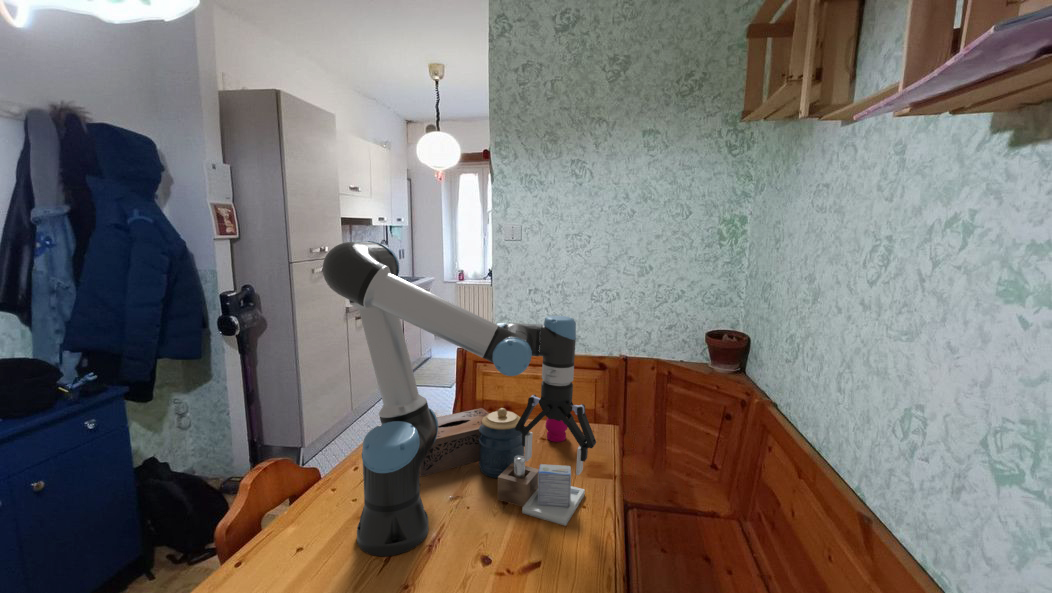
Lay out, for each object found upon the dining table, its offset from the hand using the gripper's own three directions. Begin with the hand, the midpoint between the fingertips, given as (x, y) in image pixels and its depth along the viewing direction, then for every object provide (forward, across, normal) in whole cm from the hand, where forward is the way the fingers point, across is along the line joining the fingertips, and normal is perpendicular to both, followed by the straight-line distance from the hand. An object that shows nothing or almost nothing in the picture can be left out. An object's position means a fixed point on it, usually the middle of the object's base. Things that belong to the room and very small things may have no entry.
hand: (552, 465), depth 111 cm
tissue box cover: (+11, -36, +11) cm, 39 cm away
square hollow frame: (+10, -9, 0) cm, 13 cm away
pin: (+10, -9, 0) cm, 13 cm away
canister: (+11, -19, +10) cm, 24 cm away
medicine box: (+10, +1, 0) cm, 10 cm away
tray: (+10, +1, 0) cm, 10 cm away
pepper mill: (+10, -12, +35) cm, 39 cm away
